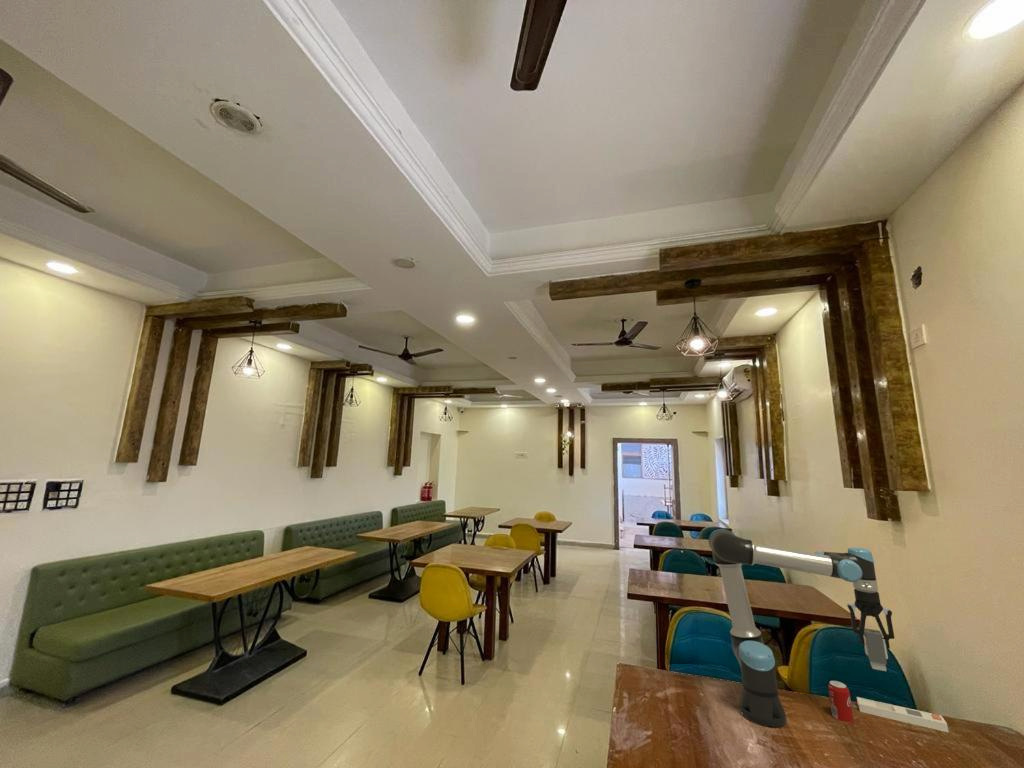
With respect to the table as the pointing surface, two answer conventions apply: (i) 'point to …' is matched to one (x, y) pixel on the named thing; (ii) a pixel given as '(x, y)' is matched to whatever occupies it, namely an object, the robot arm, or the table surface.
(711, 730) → the table surface
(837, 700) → the beverage can
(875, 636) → the charger
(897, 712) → the power strip
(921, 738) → the table surface
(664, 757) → the table surface
